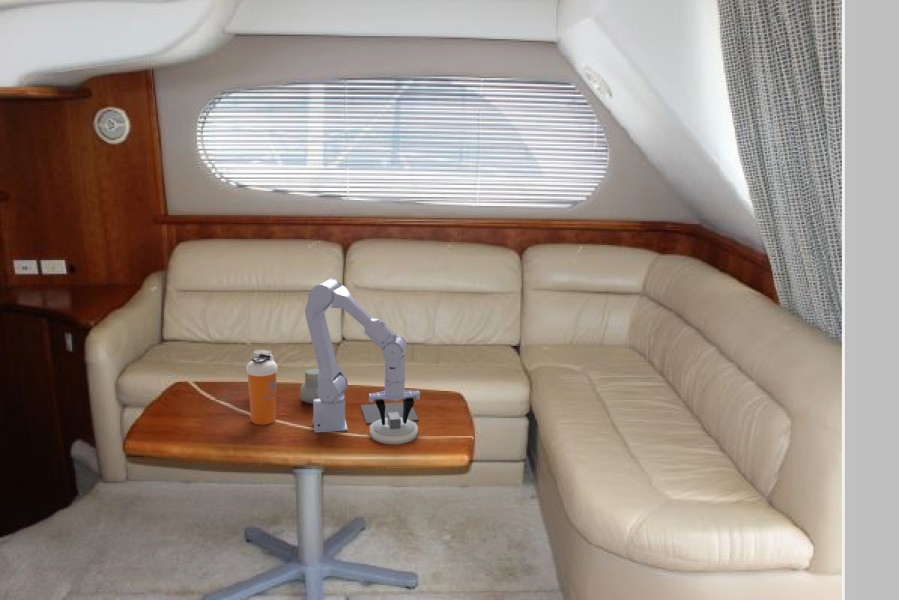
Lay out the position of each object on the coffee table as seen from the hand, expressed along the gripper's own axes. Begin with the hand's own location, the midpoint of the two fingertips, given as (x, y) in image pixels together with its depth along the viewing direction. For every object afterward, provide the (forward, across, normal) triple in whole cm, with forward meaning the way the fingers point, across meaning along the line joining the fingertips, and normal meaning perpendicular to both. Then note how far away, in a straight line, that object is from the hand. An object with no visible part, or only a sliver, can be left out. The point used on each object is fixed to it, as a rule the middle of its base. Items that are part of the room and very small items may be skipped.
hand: (394, 422), depth 211 cm
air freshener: (+4, -21, +29) cm, 36 cm away
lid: (+1, 0, 0) cm, 1 cm away
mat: (+3, +1, +15) cm, 15 cm away
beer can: (+4, -37, +36) cm, 52 cm away
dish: (+3, 0, 0) cm, 3 cm away
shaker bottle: (+4, -37, +16) cm, 40 cm away
